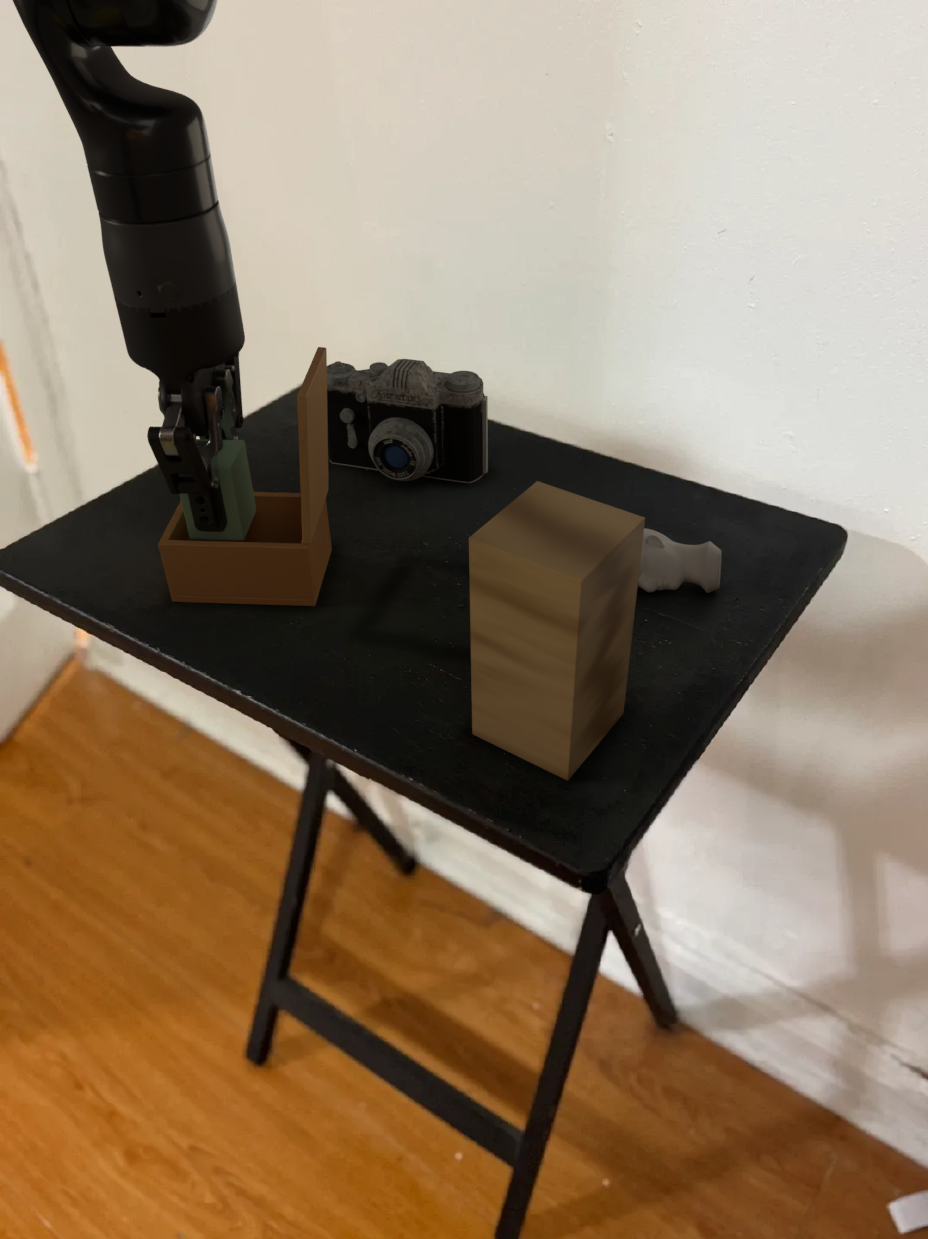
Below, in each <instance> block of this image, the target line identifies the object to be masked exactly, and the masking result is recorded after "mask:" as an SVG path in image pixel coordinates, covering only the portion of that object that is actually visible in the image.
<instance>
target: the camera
mask: <svg viewBox="0 0 928 1239" xmlns="http://www.w3.org/2000/svg"><path fill="white" fill-rule="evenodd" d="M488 398H489V397H488V395H485V393H484V381H483V378H482V377H480V375H478V373H476V372H474V371H470V370H456V371H453V372H450V373H449V372H443V371H442V372H441V371H434V370H433V369H432V368H431V367H430V366H429V365H428V364H427V363H426V362H425V361H424V360H418V359H409V358H397V359H396V360H395V361H394V362H392V363H391V364H390V365H388V364H387V363H386V362H383V361H379V362H373V363H371V364H369V368H365V369H360V370H359V369H356V368H355V367H354V365H352V364H350V363H345V362H342V361H340V360H338V361H334V362H332V363H331V364H327V420H328V462H330V463H331V464H332V465H339V466H346V467H347V466H348V467H353V468H359V469H360V468H361V469H367V470H372V471H379V473H381V474H382V475H383V476H385V477H387V478H389V479H391V480H395V481H401V482H410V481H415V480H418V479H420V478H421V477H422V478H428V479H429V478H430V479H436V480H442V481H449V482H456V483H462V484H463V483H464V484H472V483H474V482H477V481H479V480H480V479H481V478H482V477H483V476H484V475H485V474H488V471H489V451H488V450H489V445H488V444H489V442H488V441H489V439H488V437H489V435H488V433H489V430H488V429H489V424H488V423H489V422H488V420H489V418H488V417H489V416H488V412H489V411H488V410H489V408H488V406H489V404H488V402H489V401H488V400H489V399H488Z"/></svg>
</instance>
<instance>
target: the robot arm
mask: <svg viewBox="0 0 928 1239" xmlns="http://www.w3.org/2000/svg"><path fill="white" fill-rule="evenodd" d="M12 2H13V5H14V7H15V9H16V12H17V14H18V16H19V18H20V20H21V22H22V24H23V26H24V28H25V30H26V32H27V34H28V36H29V38H30V40H31V41H32V44H33V45H34V47H35V49H36V51H37V53H38V54H39V56H40V58H41V60H42V62H43V64H44V66H45V68H46V70H47V71H48V74H49V76H50V77H51V79H52V81H53V85H54V86H55V88H56V90H57V92H58V94H59V96H60V99H61V101H62V103H63V105H64V107H65V110H66V111H67V113H68V115H69V118H70V120H71V122H72V123H73V126H74V128H75V130H76V132H77V135H78V137H79V139H80V141H81V145H82V149H83V153H84V157H85V162H86V165H87V170H88V175H89V179H90V183H91V187H92V192H93V195H94V200H95V205H96V208H97V211H98V217H99V223H100V230H101V231H100V233H101V244H102V250H103V251H102V252H103V255H104V260H105V264H106V268H107V272H108V277H109V281H110V285H111V289H112V294H113V298H114V302H115V307H116V310H117V315H118V318H119V323H120V327H121V331H122V335H123V338H124V339H123V340H124V344H125V348H126V352H127V355H128V357H129V359H131V361H132V362H133V363H134V364H136V366H139V368H143V369H146V370H148V371H149V372H151V373H152V374H154V376H156V377H157V378H158V387H157V400H158V409H159V411H160V413H161V414H162V415H163V422H162V424H161V426H149V427H148V429H147V434H146V435H147V436H146V437H147V442H148V444H149V447H150V449H151V451H152V454H153V456H154V458H155V460H156V462H157V465H158V467H159V469H160V471H161V473H162V476H163V478H164V481H165V483H166V484H167V487H168V489H169V491H170V494H172V495H180V493H181V494H188V498H189V502H190V507H191V511H192V516H193V520H194V525H195V527H196V529H197V530H199V531H204V532H222V531H224V530H225V528H226V525H227V517H226V512H225V507H224V502H223V497H222V492H221V487H220V483H219V482H220V477H219V471H218V461H217V454H218V453H219V452H220V451H221V450H222V449H223V440H240V437H239V433H238V429H242V428H243V425H244V422H245V420H244V419H245V418H244V413H243V397H242V384H241V370H240V353H241V350H242V349H243V347H244V345H245V342H246V335H245V328H244V323H243V316H242V310H241V303H240V298H239V291H238V286H237V280H236V274H235V267H234V261H233V255H232V254H233V253H232V249H231V248H232V247H231V242H230V238H229V233H228V230H227V226H226V223H225V221H224V217H223V214H222V210H221V204H220V200H219V196H218V191H217V190H218V189H217V184H216V179H215V173H214V167H213V160H212V155H211V146H210V141H209V134H208V129H207V125H206V120H205V117H204V114H203V112H202V110H201V108H200V106H199V104H198V103H197V102H195V100H194V99H192V98H190V97H189V96H187V95H185V94H183V93H180V92H177V91H175V90H171V89H166V88H164V87H159V86H155V85H151V84H149V83H146V82H144V81H142V80H139V79H138V78H137V77H135V76H133V75H132V74H130V72H128V70H127V69H126V67H125V66H124V65H123V63H122V62H121V60H120V59H119V57H118V56H117V54H116V53H115V51H114V49H113V47H115V48H116V47H122V48H125V47H127V48H131V47H132V48H133V47H134V48H146V47H147V48H151V47H152V48H167V47H171V48H172V47H178V46H183V45H184V46H185V45H187V44H190V43H192V42H194V41H195V40H197V39H198V38H199V37H200V36H202V35H203V34H204V33H205V32H206V31H207V29H208V27H209V25H210V24H211V22H212V21H213V17H214V15H215V11H216V8H217V5H218V0H12ZM197 437H198V439H209V441H196V439H197ZM201 456H202V457H204V459H205V465H206V468H205V465H204V463H203V460H202V458H201Z"/></svg>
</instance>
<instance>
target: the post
mask: <svg viewBox="0 0 928 1239" xmlns="http://www.w3.org/2000/svg"><path fill="white" fill-rule="evenodd" d="M645 521H646V517H644V516H641V515H638V514H636V513H632V512H630V511H626V510H624V509H620V508H619V507H618V508H617V507H615V506H612V505H609V504H606V503H603V502H600V501H597V500H594V499H591V498H589V497H585V496H582V495H580V494H576V493H574V492H571V491H568V490H565V489H562V488H559V487H556V486H553V485H550V484H547V483H545V482H542V481H539V480H536V481H535V482H534V483H533V484H532V485H531V486H529V487H528V488H527V489H526V490H524V491H523V492H522V493H520V495H519V496H518V497H516V498H515V499H514V500H512V502H510V503H508V505H507V506H506V507H504V508H503V509H501V511H499V512H498V513H497V514H496V515H495V516H493V517H492V518H491V519H490V520H488V522H486V523H485V524H484V525H482V526H481V527H480V528H479V529H477V530H476V531H475V532H474V533H473V534H471V536H469V537H468V563H469V564H468V566H469V567H468V568H469V570H468V571H469V573H468V574H469V575H468V576H469V622H470V624H469V626H470V629H469V630H470V677H471V678H470V679H471V682H470V683H471V684H470V685H471V688H470V689H471V728H472V729H471V734H472V735H473V736H475V737H477V738H479V739H481V740H483V741H485V742H487V743H489V744H492V745H493V746H495V747H497V748H500V749H501V750H504V751H506V752H508V753H510V754H512V755H513V756H516V757H518V758H520V759H522V760H524V761H526V762H528V763H530V764H532V765H534V766H536V767H539V768H541V769H542V770H544V771H547V772H548V773H551V774H553V775H555V776H557V777H559V778H561V779H563V780H565V781H566V782H568V781H569V780H570V779H571V778H572V777H573V775H574V774H575V773H576V772H577V771H578V769H580V767H581V766H582V764H583V763H584V762H585V761H586V760H587V758H588V757H589V756H590V755H591V754H592V752H593V751H594V750H595V749H596V747H597V746H598V745H599V744H600V743H601V741H602V740H603V739H604V738H605V737H606V735H607V734H608V733H609V732H610V730H611V729H612V728H613V727H614V725H615V724H616V723H617V722H618V721H619V719H621V717H622V716H623V715H624V711H625V703H626V696H627V695H626V693H627V684H628V675H629V666H630V657H631V650H632V648H631V647H632V642H633V641H632V639H633V632H634V631H633V630H634V624H635V623H634V621H635V613H636V612H635V611H636V604H637V595H638V588H639V587H638V578H639V569H640V560H641V551H642V542H643V533H644V528H645ZM637 587H638V588H637Z"/></svg>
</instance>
